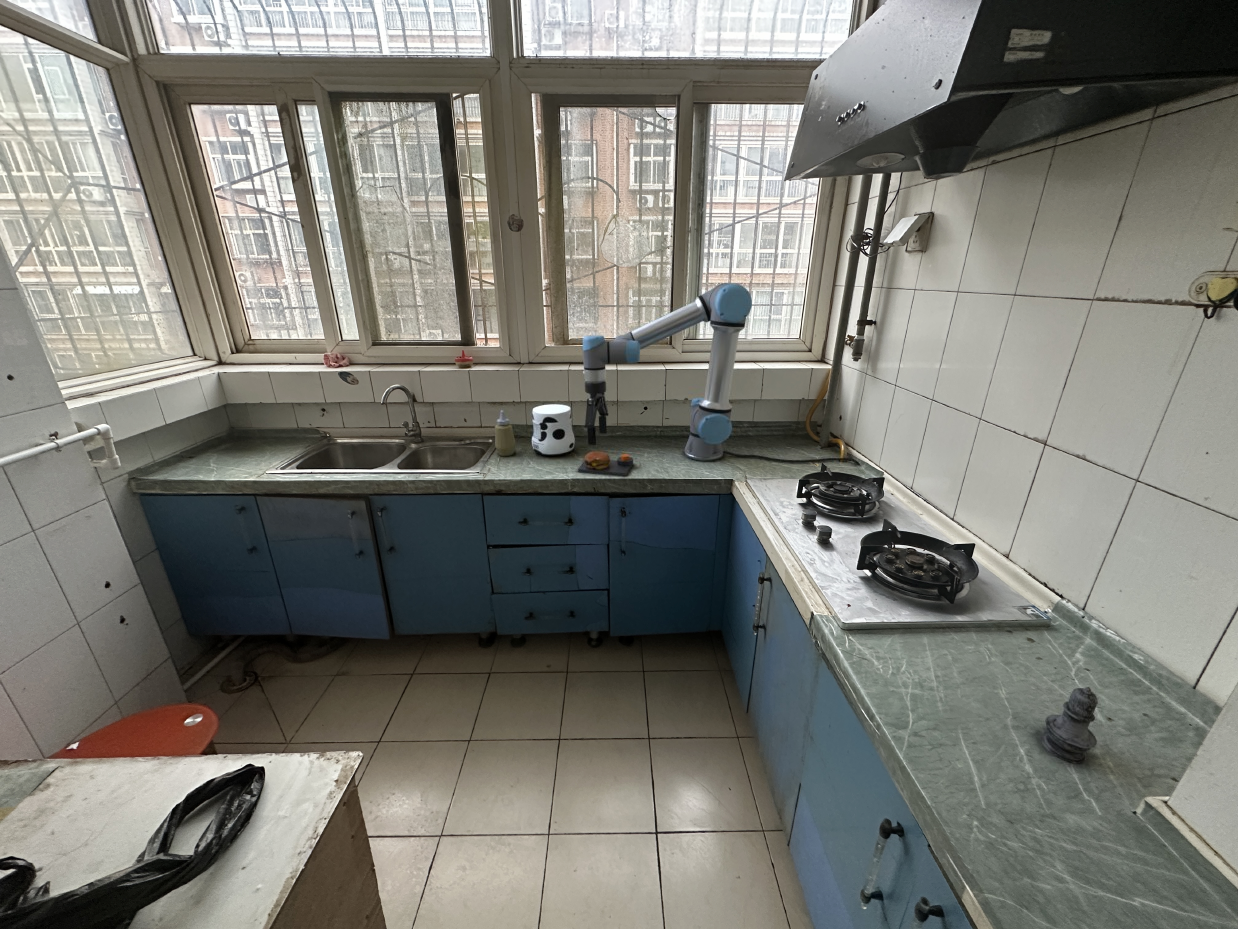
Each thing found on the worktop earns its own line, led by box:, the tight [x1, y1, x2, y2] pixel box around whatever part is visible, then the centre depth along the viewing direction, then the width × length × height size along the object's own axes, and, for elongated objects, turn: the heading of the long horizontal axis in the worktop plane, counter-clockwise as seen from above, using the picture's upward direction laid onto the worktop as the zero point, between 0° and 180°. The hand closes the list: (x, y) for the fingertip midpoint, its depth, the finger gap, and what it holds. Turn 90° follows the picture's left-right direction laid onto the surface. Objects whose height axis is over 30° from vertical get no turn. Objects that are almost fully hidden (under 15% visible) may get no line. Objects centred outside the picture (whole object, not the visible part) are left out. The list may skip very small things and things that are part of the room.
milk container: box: [531, 403, 576, 457], centre depth 201 cm, size 17×17×18 cm
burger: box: [583, 451, 612, 470], centre depth 185 cm, size 10×9×5 cm
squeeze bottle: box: [494, 410, 516, 457], centre depth 199 cm, size 8×8×18 cm
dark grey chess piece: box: [1040, 686, 1099, 765], centre depth 74 cm, size 6×6×12 cm
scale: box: [577, 456, 634, 477], centre depth 186 cm, size 18×12×3 cm
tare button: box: [620, 453, 630, 461], centre depth 187 cm, size 3×3×2 cm
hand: (597, 438), depth 182 cm, fingers open, 13 cm apart
